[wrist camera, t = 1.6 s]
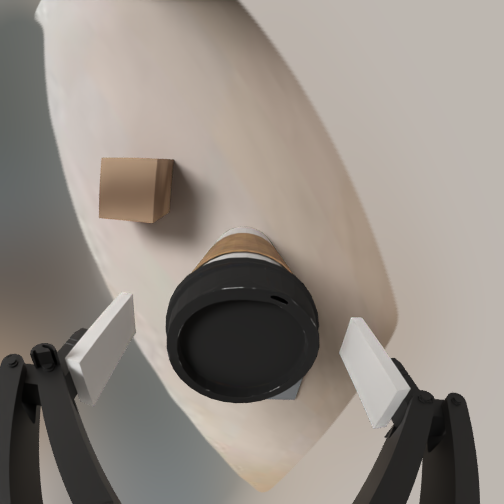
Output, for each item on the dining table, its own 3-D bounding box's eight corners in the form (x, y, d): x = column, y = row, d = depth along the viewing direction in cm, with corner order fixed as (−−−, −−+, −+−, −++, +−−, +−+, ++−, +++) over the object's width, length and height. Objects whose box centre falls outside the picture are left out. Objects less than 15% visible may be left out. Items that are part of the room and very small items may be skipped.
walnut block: (126, 157, 23) (101, 157, 18) (174, 159, 23) (157, 158, 19) (122, 208, 25) (99, 217, 20) (169, 212, 25) (152, 223, 20)
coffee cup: (302, 237, 26) (363, 322, 12) (261, 307, 28) (273, 425, 14) (223, 197, 25) (191, 242, 10) (187, 274, 27) (137, 379, 13)
